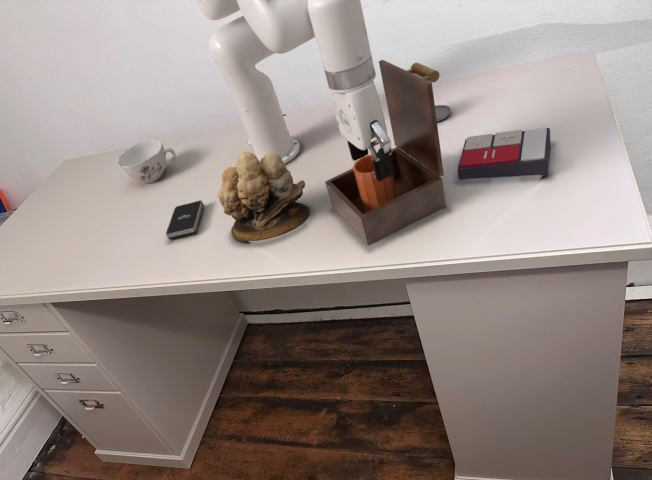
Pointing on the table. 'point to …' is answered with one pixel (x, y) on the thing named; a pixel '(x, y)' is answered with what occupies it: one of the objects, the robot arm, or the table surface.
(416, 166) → the chest
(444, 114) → the pocket watch
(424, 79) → the lid
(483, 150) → the calculator
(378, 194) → the cup
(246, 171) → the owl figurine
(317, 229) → the table surface
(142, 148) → the teacup
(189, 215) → the external hard drive
